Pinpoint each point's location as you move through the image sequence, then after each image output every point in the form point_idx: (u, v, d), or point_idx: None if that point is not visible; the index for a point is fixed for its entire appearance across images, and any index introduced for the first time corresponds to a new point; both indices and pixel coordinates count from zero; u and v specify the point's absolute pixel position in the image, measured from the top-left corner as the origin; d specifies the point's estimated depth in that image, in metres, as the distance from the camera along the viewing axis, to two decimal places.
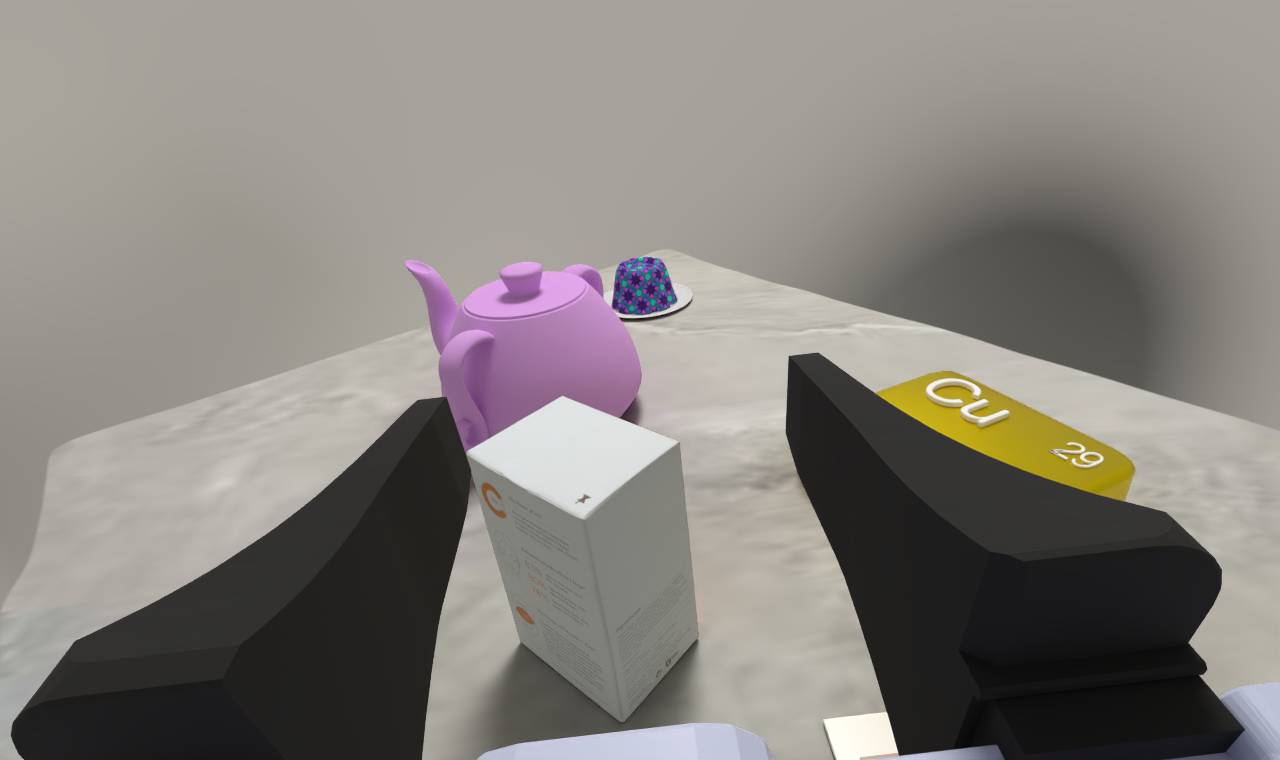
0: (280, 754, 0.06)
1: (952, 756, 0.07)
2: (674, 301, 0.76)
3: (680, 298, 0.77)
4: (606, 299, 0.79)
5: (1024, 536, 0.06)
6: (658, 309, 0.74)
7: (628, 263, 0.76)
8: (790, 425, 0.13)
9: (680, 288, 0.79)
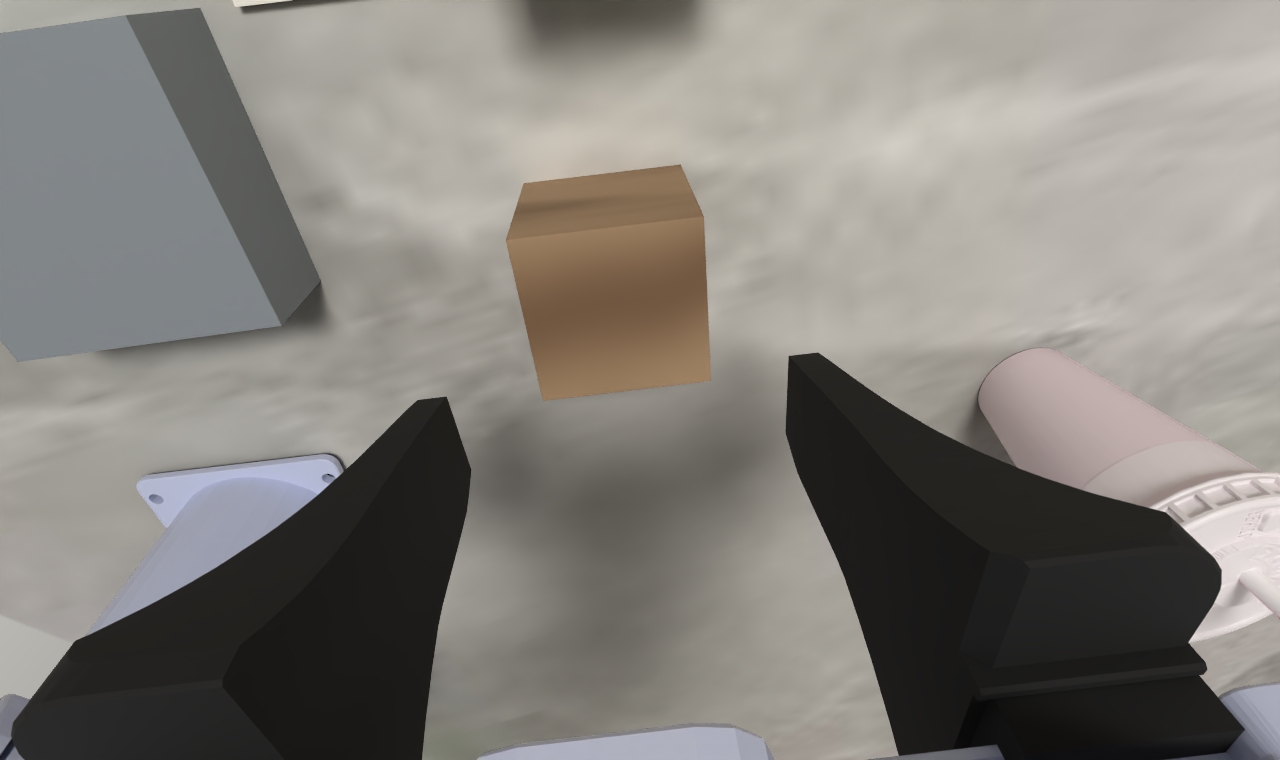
0: (280, 754, 0.06)
1: (952, 756, 0.07)
2: None
3: None
4: None
5: (1024, 536, 0.06)
6: None
7: None
8: (790, 425, 0.13)
9: None
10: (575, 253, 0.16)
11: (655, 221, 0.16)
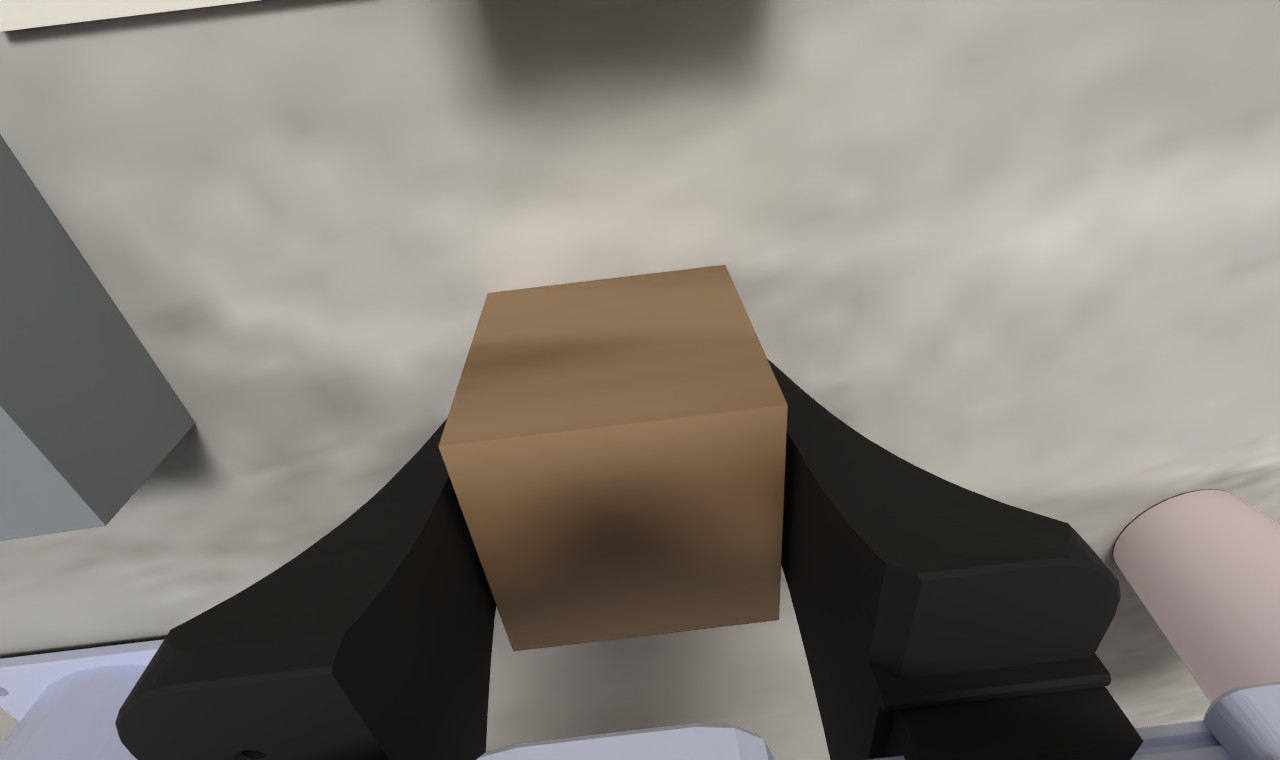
0: (378, 742, 0.06)
1: None
2: None
3: None
4: None
5: (924, 548, 0.06)
6: None
7: None
8: None
9: None
10: (560, 463, 0.09)
11: (702, 413, 0.09)
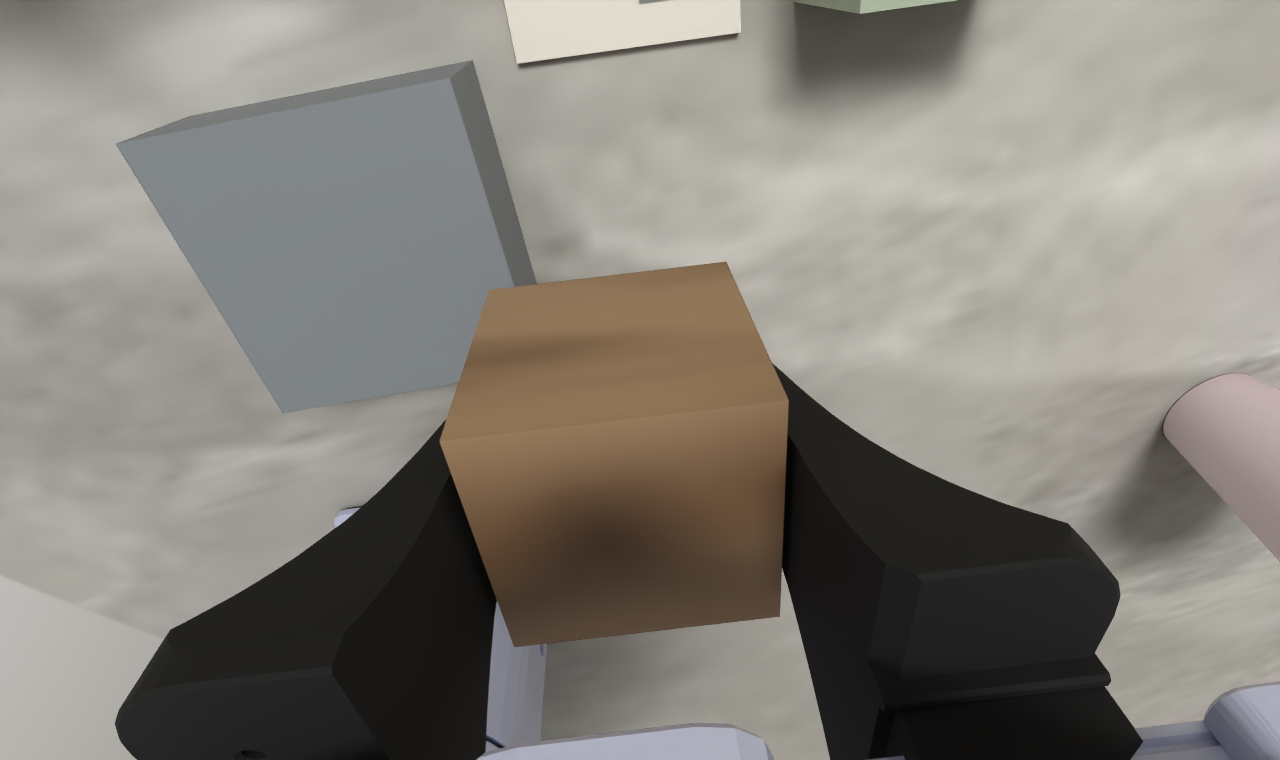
0: (377, 743, 0.06)
1: None
2: None
3: None
4: None
5: (924, 548, 0.06)
6: None
7: None
8: None
9: None
10: (561, 458, 0.09)
11: (703, 408, 0.09)
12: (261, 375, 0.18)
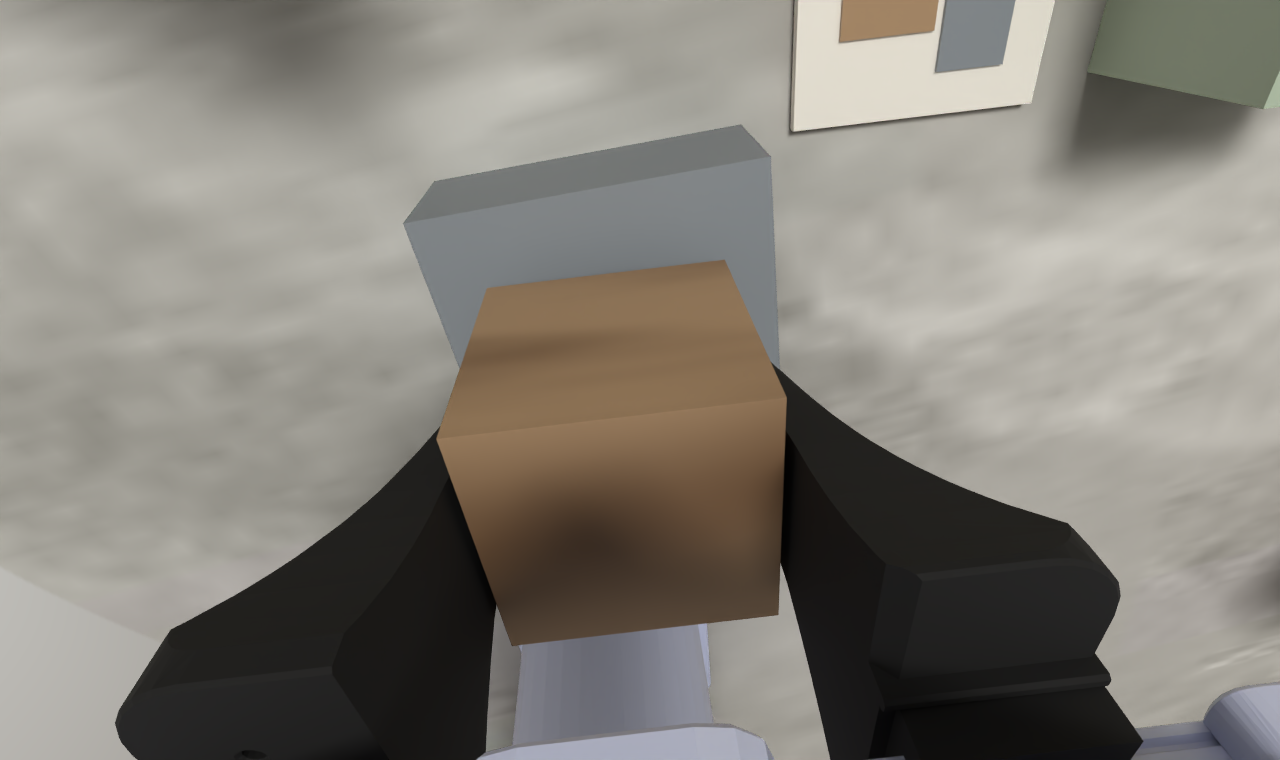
0: (378, 742, 0.06)
1: None
2: None
3: None
4: None
5: (924, 548, 0.06)
6: None
7: None
8: None
9: None
10: (559, 456, 0.09)
11: (701, 406, 0.09)
12: None
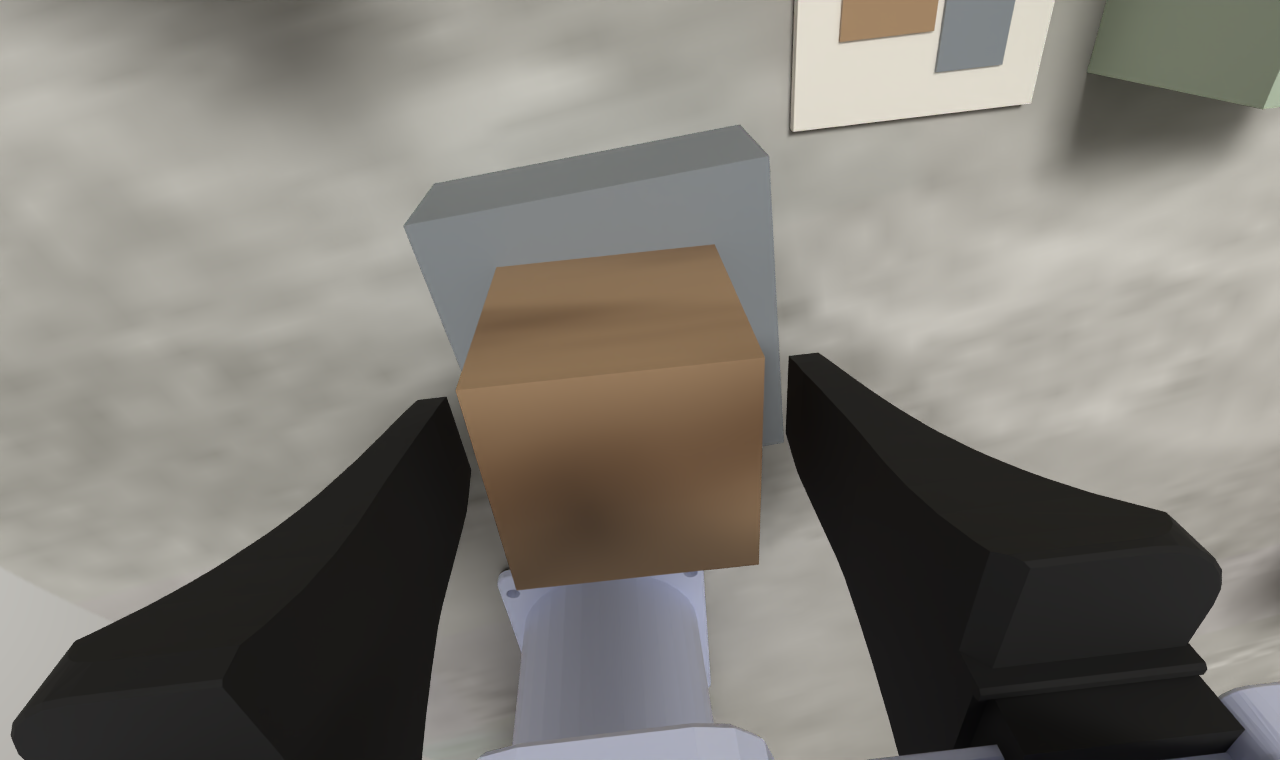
0: (280, 754, 0.06)
1: (952, 756, 0.07)
2: None
3: None
4: None
5: (1024, 536, 0.06)
6: None
7: None
8: (790, 425, 0.13)
9: None
10: (564, 408, 0.10)
11: (689, 364, 0.10)
12: None
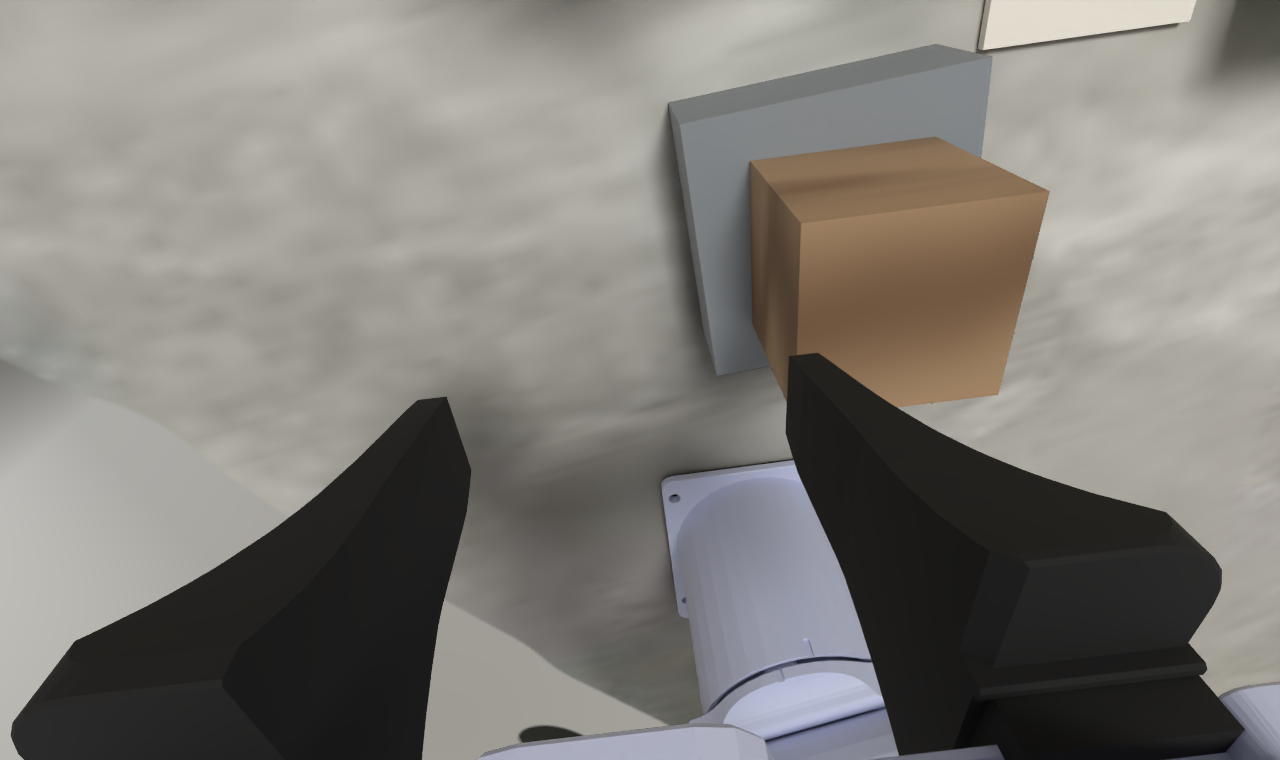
0: (280, 754, 0.06)
1: (952, 756, 0.07)
2: None
3: None
4: None
5: (1024, 536, 0.06)
6: None
7: None
8: (790, 425, 0.13)
9: None
10: (880, 240, 0.13)
11: (988, 198, 0.12)
12: (711, 340, 0.20)
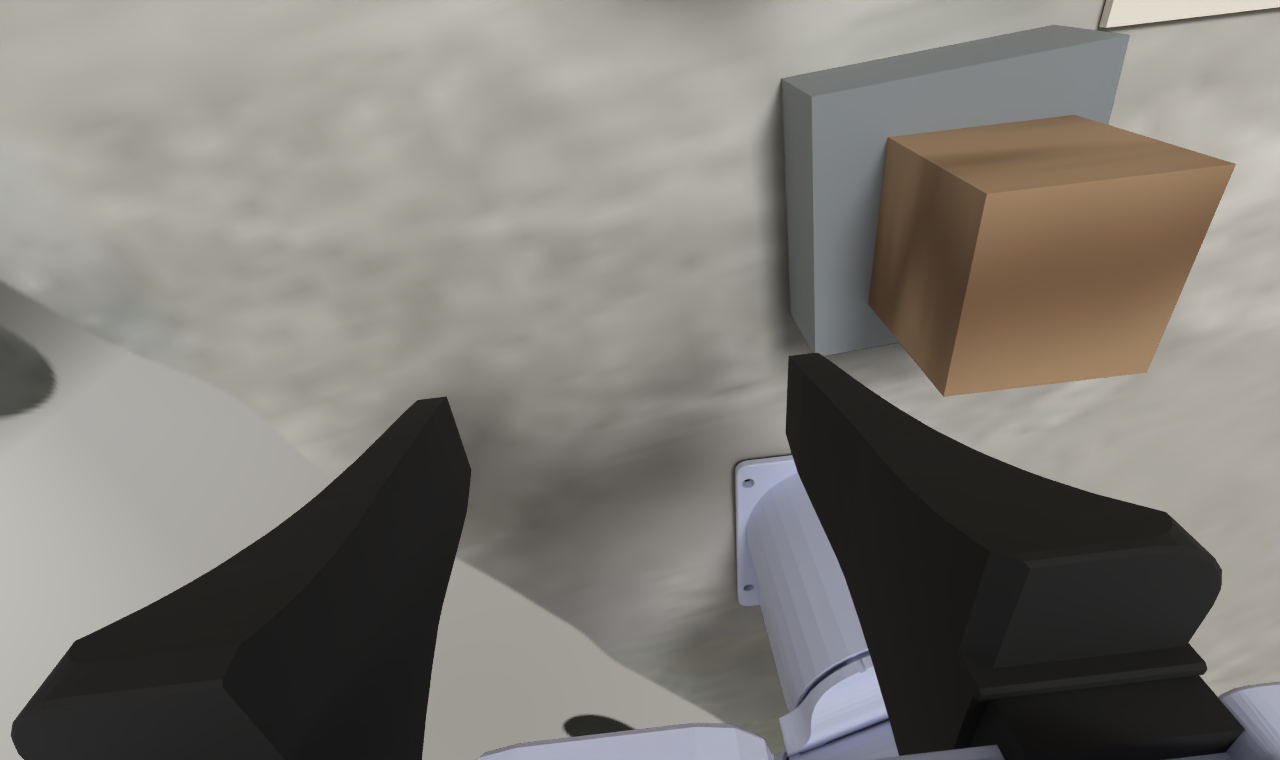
0: (280, 754, 0.06)
1: (952, 756, 0.07)
2: None
3: None
4: None
5: (1024, 536, 0.06)
6: None
7: None
8: (790, 425, 0.13)
9: None
10: (1060, 212, 0.13)
11: (1174, 171, 0.12)
12: (813, 320, 0.20)
